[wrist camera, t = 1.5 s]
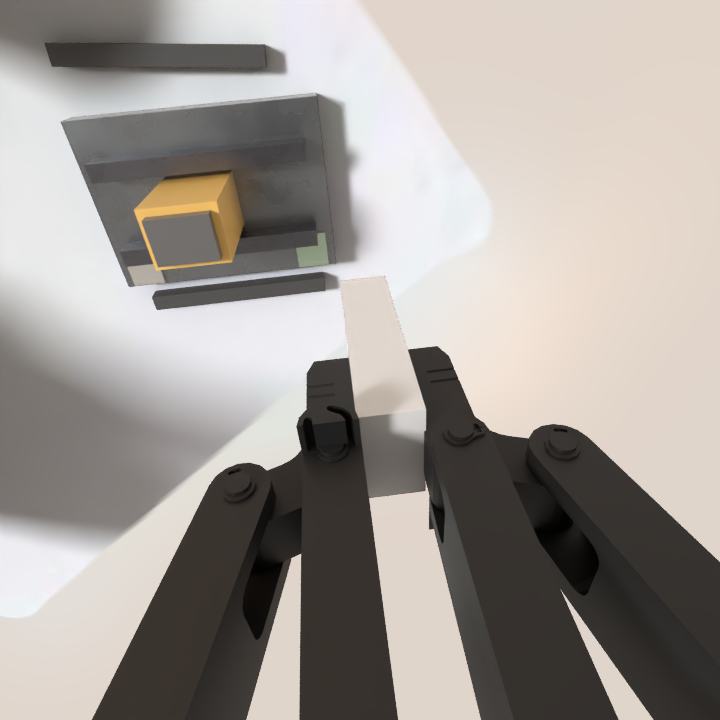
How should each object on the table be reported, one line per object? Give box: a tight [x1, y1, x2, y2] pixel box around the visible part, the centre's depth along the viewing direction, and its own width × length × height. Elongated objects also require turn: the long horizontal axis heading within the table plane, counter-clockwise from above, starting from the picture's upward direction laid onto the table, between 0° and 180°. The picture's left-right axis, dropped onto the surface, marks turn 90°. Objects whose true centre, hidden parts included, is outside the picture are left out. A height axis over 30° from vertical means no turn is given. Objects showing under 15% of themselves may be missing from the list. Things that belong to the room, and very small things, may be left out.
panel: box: [61, 93, 336, 287], centre depth 28 cm, size 14×10×3 cm
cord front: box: [45, 43, 267, 67], centre depth 25 cm, size 11×1×1 cm, turn 90°
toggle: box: [134, 171, 244, 271], centre depth 26 cm, size 4×3×7 cm
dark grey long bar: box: [152, 272, 325, 310], centre depth 33 cm, size 12×1×1 cm, turn 95°
